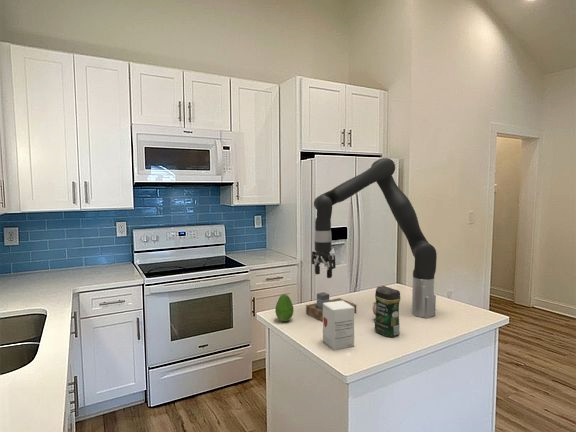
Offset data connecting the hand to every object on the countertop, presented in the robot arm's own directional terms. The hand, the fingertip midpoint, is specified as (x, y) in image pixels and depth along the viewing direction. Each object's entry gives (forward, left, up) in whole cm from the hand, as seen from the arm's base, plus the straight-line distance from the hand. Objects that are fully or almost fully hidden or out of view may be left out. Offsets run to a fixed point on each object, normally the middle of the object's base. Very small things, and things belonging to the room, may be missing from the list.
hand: (323, 276), depth 169 cm
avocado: (+4, +18, -19) cm, 26 cm away
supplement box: (-27, +14, -19) cm, 36 cm away
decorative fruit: (-20, -18, -19) cm, 32 cm away
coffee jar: (-30, -9, -19) cm, 36 cm away
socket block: (0, -5, -18) cm, 19 cm away
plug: (0, 0, -18) cm, 18 cm away
